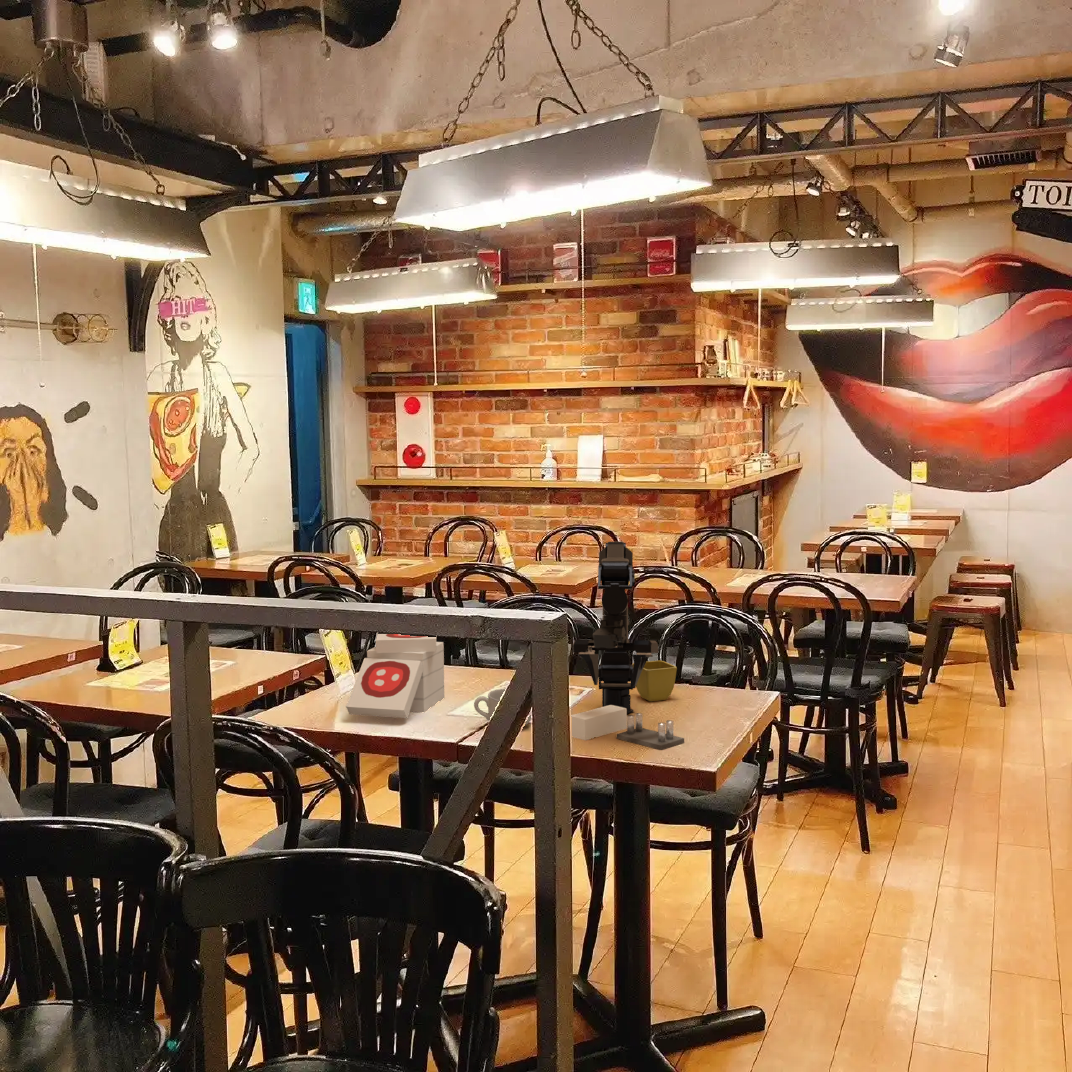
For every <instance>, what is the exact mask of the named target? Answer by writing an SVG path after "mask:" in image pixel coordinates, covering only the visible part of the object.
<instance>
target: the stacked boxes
mask: <svg viewBox="0 0 1072 1072" xmlns="http://www.w3.org/2000/svg"><path fill="white" fill-rule="evenodd" d="M444 646H445V645H444V641H437V636H436V637H428V636H410V635H401V634H378V633H377V634H376V639H375V646H374V647H372V648H370V649H368V650H367V651H366V657H364V659H363V661H362V664H361V667H360V668H359V672H358V674H357V677H356V679H355V681H354V684H353V687H352V690H351V693H350V695H349V698H348V700H347V703H346V706H345V708H346V710H347V712H348V714H349V715H353V716H368V717H384V718H398V719H400V718H401V719H408V718H409V714H410V713H422V712H424V713H426V712H427V711H429V710H430V709H431V708H433V707H435V706H436V705H437V704H438V703H437V702H438V701H440V702H442V701H443V700H444V699H445V664H444V663H445V658H444V657H445V655H444V653H445V652H444V651H445V648H444ZM443 698H444V699H443ZM442 699H443V700H442ZM441 700H442V701H441ZM436 703H437V704H436ZM435 704H436V705H435ZM430 707H431V708H430ZM429 708H430V709H429ZM428 709H429V710H428Z"/></svg>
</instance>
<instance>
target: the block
mask: <svg viewBox="0 0 1072 1072" xmlns="http://www.w3.org/2000/svg"><path fill="white" fill-rule="evenodd" d="M570 715H571V717H572V736H573V737H572V738H573V739H574V738H575V739H578V740H581V741H588V740H591V738H592V739H595V738H594V737H596V738H598V737H603V736H605V735H609V734H612V733H617V732H619V731H623V730H627V716H628V715H627V708H623V707H618V706H614V705H608V706H604V707H602V706H601V707H597V708H593V709H589V710H586V711H583V712H578V713H574V714H570Z"/></svg>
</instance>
